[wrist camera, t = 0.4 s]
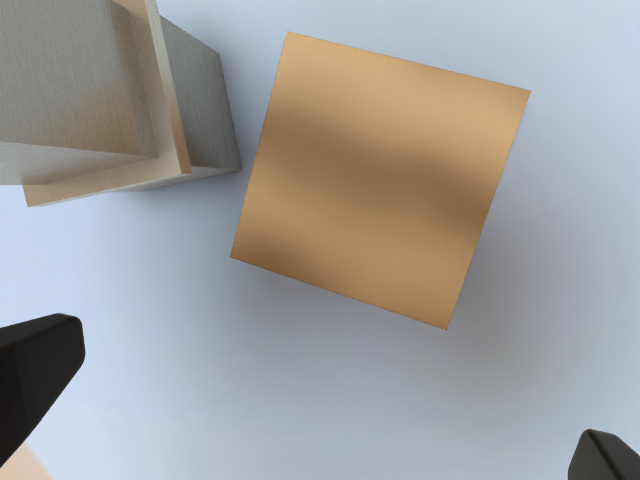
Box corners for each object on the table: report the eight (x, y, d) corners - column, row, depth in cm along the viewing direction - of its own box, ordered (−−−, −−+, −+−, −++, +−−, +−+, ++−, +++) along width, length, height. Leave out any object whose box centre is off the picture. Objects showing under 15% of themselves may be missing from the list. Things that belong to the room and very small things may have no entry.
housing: (251, 176, 22) (32, 167, 10) (136, 200, 24) (-187, 220, 11) (224, 43, 22) (-45, -155, 9) (109, 75, 23) (-264, -56, 10)
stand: (443, 316, 21) (446, 330, 19) (245, 250, 23) (230, 257, 21) (519, 100, 19) (530, 90, 17) (298, 45, 21) (287, 31, 19)
